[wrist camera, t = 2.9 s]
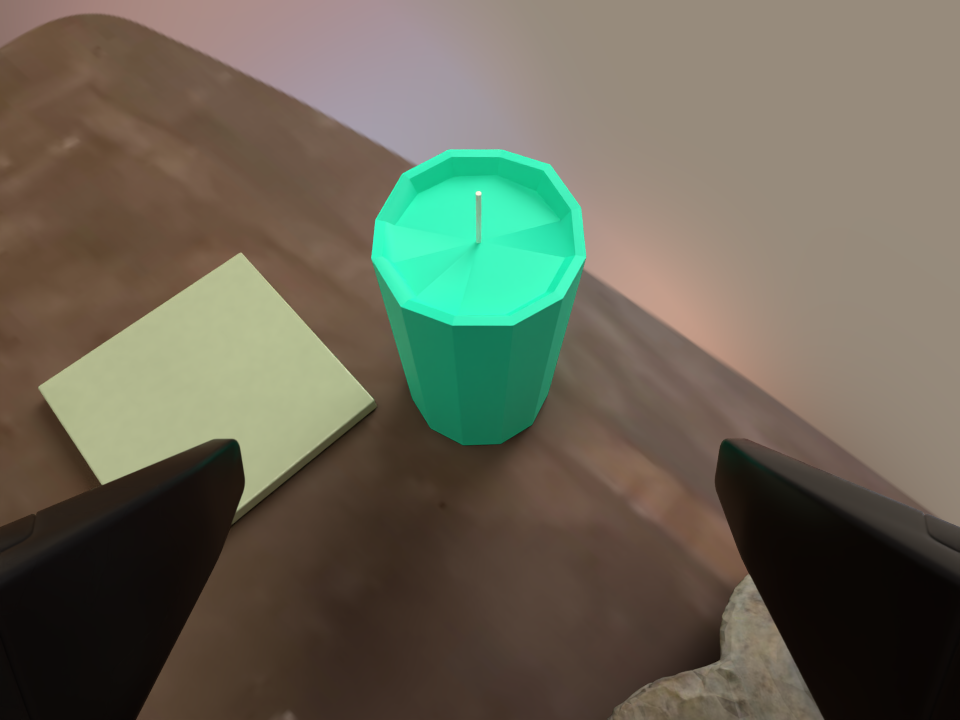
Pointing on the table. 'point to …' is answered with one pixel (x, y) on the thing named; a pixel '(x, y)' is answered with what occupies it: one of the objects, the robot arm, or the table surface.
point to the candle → (479, 287)
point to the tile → (210, 385)
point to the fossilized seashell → (732, 675)
